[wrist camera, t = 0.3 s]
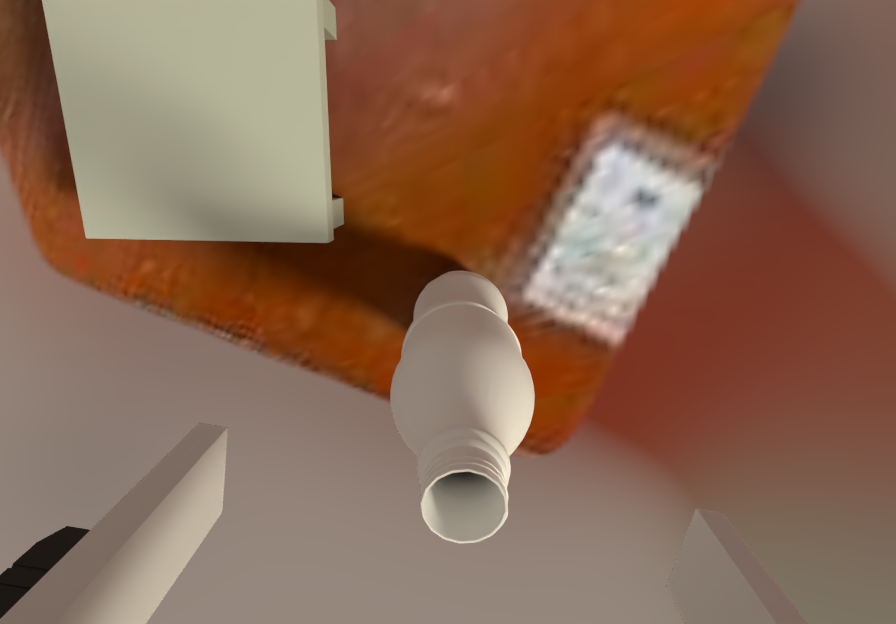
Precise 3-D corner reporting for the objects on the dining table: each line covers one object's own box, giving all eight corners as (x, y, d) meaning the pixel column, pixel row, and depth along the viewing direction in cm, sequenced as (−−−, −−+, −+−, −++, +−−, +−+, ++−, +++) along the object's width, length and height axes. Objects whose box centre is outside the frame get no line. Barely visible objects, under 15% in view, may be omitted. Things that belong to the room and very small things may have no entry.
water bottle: (413, 344, 42) (353, 583, 18) (419, 260, 40) (362, 400, 16) (498, 352, 42) (554, 601, 18) (508, 268, 40) (588, 420, 16)
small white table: (115, -3, 35) (33, -45, 28) (342, 0, 35) (314, -41, 28) (149, 226, 39) (85, 238, 32) (350, 230, 39) (328, 243, 32)
